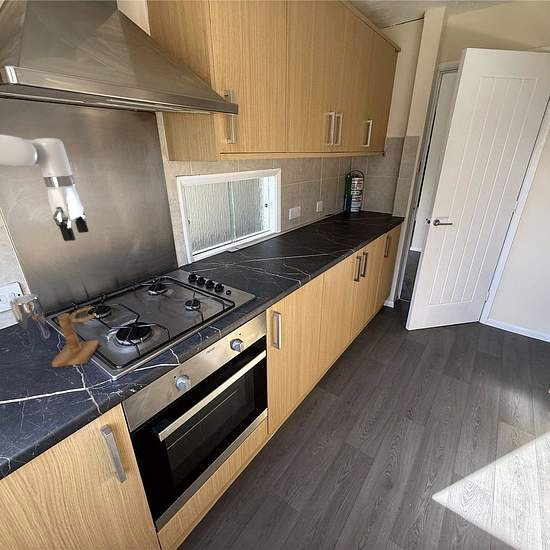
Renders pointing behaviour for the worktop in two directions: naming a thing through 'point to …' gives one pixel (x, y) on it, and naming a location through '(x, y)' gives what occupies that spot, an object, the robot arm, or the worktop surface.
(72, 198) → the robot arm
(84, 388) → the worktop surface
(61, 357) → the stand
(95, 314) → the ring
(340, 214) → the worktop surface
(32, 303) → the beer glass
